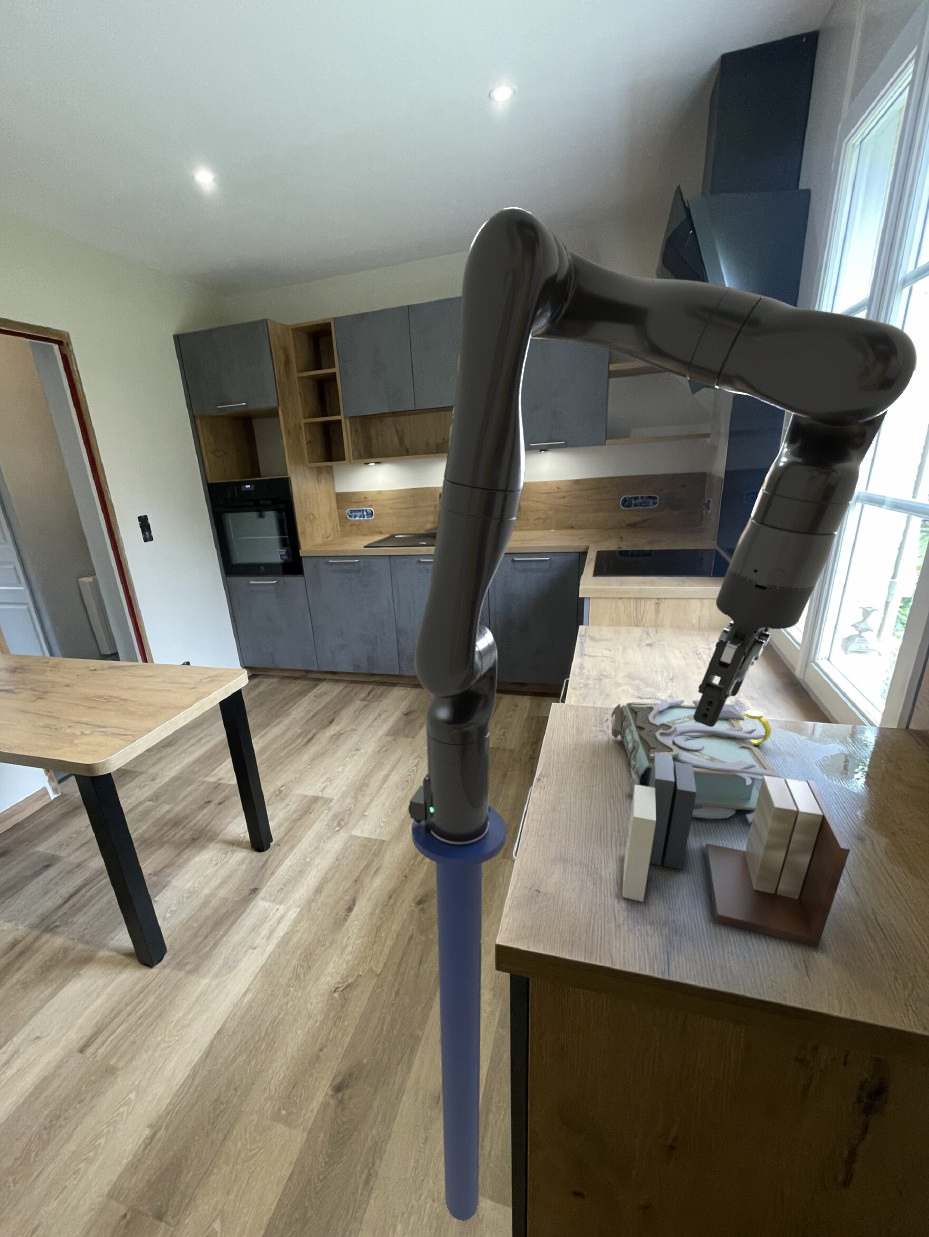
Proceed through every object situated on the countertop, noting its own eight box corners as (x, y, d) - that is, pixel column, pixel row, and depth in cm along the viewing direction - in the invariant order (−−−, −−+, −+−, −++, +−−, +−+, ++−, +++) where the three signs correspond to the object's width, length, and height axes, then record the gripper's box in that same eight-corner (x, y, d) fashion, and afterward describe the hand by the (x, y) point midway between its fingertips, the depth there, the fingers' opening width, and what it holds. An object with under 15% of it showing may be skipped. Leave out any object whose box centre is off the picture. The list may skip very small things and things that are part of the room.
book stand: (715, 922, 61) (736, 829, 56) (704, 850, 73) (721, 767, 68) (818, 947, 58) (850, 849, 53) (790, 867, 69) (814, 780, 64)
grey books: (642, 861, 71) (655, 778, 66) (643, 830, 77) (654, 752, 72) (682, 869, 69) (697, 785, 64) (679, 837, 75) (693, 757, 71)
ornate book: (605, 733, 106) (630, 820, 79) (610, 689, 103) (637, 763, 75) (728, 741, 102) (799, 836, 74) (737, 695, 99) (815, 776, 71)
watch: (769, 745, 98) (776, 717, 96) (761, 750, 97) (768, 721, 95) (737, 733, 103) (743, 705, 101) (729, 737, 101) (734, 709, 99)
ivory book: (622, 897, 65) (633, 816, 61) (624, 860, 71) (634, 784, 67) (643, 902, 64) (656, 820, 60) (643, 864, 71) (655, 787, 66)
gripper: (749, 546, 58) (700, 672, 67) (710, 576, 49) (659, 718, 57) (829, 564, 54) (766, 696, 63) (802, 601, 45) (733, 750, 53)
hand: (715, 707), depth 60 cm, fingers open, 8 cm apart
